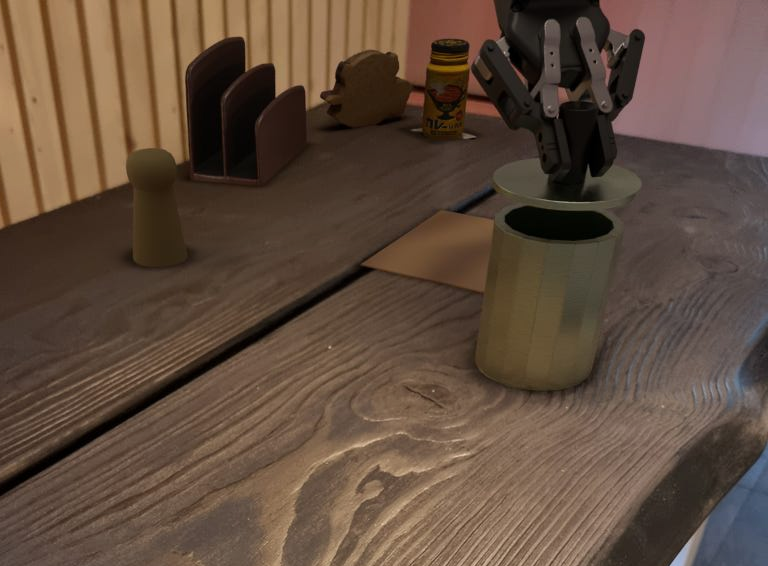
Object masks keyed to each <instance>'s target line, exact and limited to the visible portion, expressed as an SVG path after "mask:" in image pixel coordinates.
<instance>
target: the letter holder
mask: <svg viewBox="0 0 768 566" xmlns="http://www.w3.org/2000/svg"><path fill="white" fill-rule="evenodd" d="M246 58H247V57H246V41H245V38H244V37H243V36H230V37H225V38H223V39H220V40H219V41H217V42H215V43H213V44H211V46H208V48H206V49H204V50H203V51H202V52H201V53H200V54H198V55H197V56H196V57H195V58H193V60H192V61H190V63H189V64H188V65H187V67H186V69H185V73H184V74H185V75H184V85H185V111H186V125H187V126H186V127H187V143H188V145H187V147H188V160H189V179H190V180H191V181H197V182H207V183H217V184H228V185H238V186H247V187H257V188H258V187H259V188H260V187H262V186H263V185H265V184H266V183H267V182H268V181H269V180H270V179H272V177H274V176H275V175H276V174H277V173H278V172H279V171H280V170H281V169H282V168H284V166H286V165H287V164H288V163H289V162H290V161H292V160H293V159H294V158H295V157H296V156H297V155H298V154H299V153H300V152H302V150H303V149H305V148H306V147H307V145H308V142H307V141H308V139H307V137H308V135H307V133H308V131H307V95H306V88H305V86H304V85H303V84H297V85H294V86H292V87H289V88H286V89H285V90H284V91H282V92H281V93H279V94H278V95H277V93H276V92H277V91H276V88H277V87H276V86H277V85H276V74H277V73H276V66H275V64H274V63H273V62H265V63H260V64H257V65H255V66H253V67H251V68H250V69H248V70H246V69H247V66H246V61H247V60H246Z"/></svg>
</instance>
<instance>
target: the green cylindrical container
mask: <svg viewBox="0 0 768 566" xmlns="http://www.w3.org/2000/svg"><path fill="white" fill-rule="evenodd" d="M493 220H494V224H493V232H492V239H491V246H490V253H489V261H488V268H487V275H486V283H485V290H484V293H483V297H482V304H481V305H482V306H481V313H480V320H479V326H478V327H479V328H478V332H477V334H478V335H477V342H476V349H475V361H474V363H475V365H476V367H477V369H478V370H479V371H480V372H481V373H482V375H484V376H485V377H487V378H489V379H490V380H491V381H494V382H496V383H498V384H502V385H504V386H507V387H511V388H515V389H519V390H528V391H538V392H539V391H540V392H544V391H545V392H546V391H547V392H548V391H558V390H559V391H560V390H565V389H569V388H572V387H574V386H577V385H579V384H581V383H583V382H584V381H586V380H587V379H588V378H589V376H590V374H591V373H592V371H593V367H594V362H595V359H596V354H597V349H598V345H599V341H600V337H601V332H602V329H603V323H604V320H605V316H606V310H607V306H608V303H609V297H610V293H611V289H612V284H613V281H614V277H615V272H616V268H617V263H618V259H619V256H620V250H621V246H622V242H623V237H624V232H625V227H624V223H623V220H622V218H619V217H618V216H617V215H615V214H614V213H612V212H611V211H608V210H607V209H602V210H591V211H566V210H553V209H545V208H539V207H534V206H529V205H525V204H521V203H518V202H516V203H514V204H510V205H507V206H504V207H503V208H501V209H500V210H499V211H497V212H496V213H495V214H494V218H493Z"/></svg>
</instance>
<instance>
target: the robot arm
mask: <svg viewBox="0 0 768 566" xmlns="http://www.w3.org/2000/svg"><path fill="white" fill-rule="evenodd" d="M600 2H601V1H600V0H493V5H494V10H495V15H496V20H497V24H498V28H499V31H500V32H501V33H500V35H499V39H498V40H494V39H486V40H484V42H483V43H482V45H481V46H480V49H479V50H478V53H477V54H476V56H475V58H474V60H473V61H472V63H471V65H470V71H471V73H472V75H473V76H474V78H475V79H476V81H477V82H478V84H479V86H480V87H481V88H482V90H483V92H484V93H485V94H486V96H487V97H488V99H489V100H490V102H491V103H492V105H493V107H494V108H495V110H496V111H497V112H498V114H499V115H500V117H501V119H502V120H503V121H504V123H505V125H506V126H507V127H508V129H510V130H511V131H518V130H519V129H525V130H528V131H530V134H532V136H534V139H535V143H536V149H537V153H538V158H539V159H540V164H541V168H542V170H543V172H544V173H545V174H548V175H549V179H550V181H551V182H553V181H561V180H562V179H563V178H564V176H565V175H566V174H567V173H568V172H569V170H570V168H571V158H570V153H569V149H568V144H567V139H566V134H565V129H564V124H563V119H558V115H559V109H560V100H559V88H561V89H564V91H565V93H566V96H567V98H568V102H569V101H585V102H591V103H595V104H597V105H598V106H599V111H598V116H597V121H596V126H595V132H594V137H593V142H592V147H591V153H590V158H589V163H588V165H589V170H590V175H591V177H602V176H603V175H604V174H605V173H606V172H607V171H608V170H609V169H610V168H611V166H612V165H614V161H615V160H616V159H617V155H618V148H617V143H616V139H615V133H614V128H613V123H612V122H614V121H615V120H616V119H617V117H619V115H620V113H621V112H622V111H623V110H624V108H625V107H627V105H629V104H630V102H631V101H632V100H633V98H634V94H635V93H634V92H635V87H636V84H637V83H636V82H637V79H638V74H639V70H640V64H641V60H642V56H643V50H644V46H645V41H646V35H645V33H644V31H643V30H642V29H639V28H634V29H632V30H631V32H630V33H629V34H628V35H627V34H625V33H622V32H619V31H617V30H614V29H611V23H610V21H609V19H608V17H607V16H606V15H605V13H604V12H603V10H602V8H601V3H600ZM603 50H604V52H605V53H606V61H607V63H606V67H605V64H604V61H603V58H602V56H601V54H602V52H603ZM606 68H607V69H609V70H610V73H609V78H608V82H607V84H606V78H607V69H606ZM515 69H516V70H517V71H516V70H515ZM517 72H519V74H521V76H522V77H523V78H524V82H523V81H522V79H521V77H520V76H519V74H518V73H517Z"/></svg>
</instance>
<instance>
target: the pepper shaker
mask: <svg viewBox="0 0 768 566" xmlns="http://www.w3.org/2000/svg"><path fill="white" fill-rule="evenodd" d="M125 170H126V171H125V172H126V176H127V180H128V182H129V183H130V185H131V186H132V187H133V205H132V206H133V207H132V208H133V209H132V210H133V215H132V216H133V218H132V220H133V221H132V223H133V224H132V228H133V229H132V232H133V233H132V258H133V262H135V263H136V264H137V265H140V266H143V267H149V268H164V267H171V266H175V265H178V264H182V263H183V262H184V261H186V260H187V258H188V252H187V247H186V241H185V237H184V233H183V227H182V223H181V218H180V214H179V207H178V204H177V198H176V194H175V190H174V184H175V182H176V179H177V175H178V165H177V162H176V159H175V157H174V156H173V154H172V152H169V151H168V150H166V149H163V148H157V147H148V148H141V149H137V150H135V151H132V152H131V153H130V154H129V155H128V158H127V159H126V162H125Z"/></svg>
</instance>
